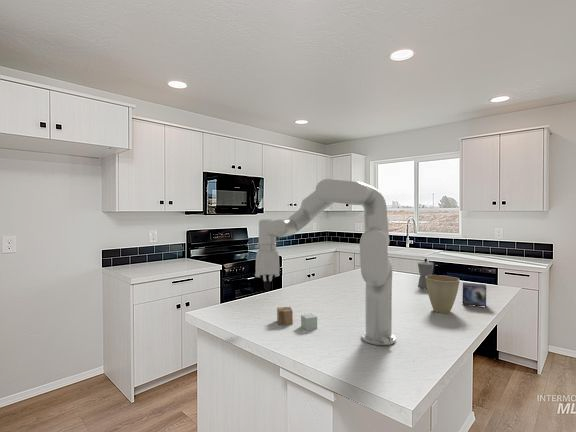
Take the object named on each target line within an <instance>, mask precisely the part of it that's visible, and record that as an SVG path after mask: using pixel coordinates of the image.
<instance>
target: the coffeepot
mask: <svg viewBox="0 0 576 432" xmlns="http://www.w3.org/2000/svg"><path fill="white" fill-rule="evenodd" d="M436 266H437V264H436V263H435V261H428V258H424V261H420V262H417V267H418V272H419V278H418V283H417V284H418V285H417V287H418V288H419V287H420V288H419V289H424V288H427V285H426V276H429V275H435V270H436Z"/></svg>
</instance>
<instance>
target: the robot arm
mask: <svg viewBox="0 0 576 432" xmlns="http://www.w3.org/2000/svg"><path fill="white" fill-rule="evenodd" d="M386 202H387V201H386V199H385V197H384V196H383V194H382V193H381V192H380V191H379V190H378V189H377V188H376V187H374V186H371V185H369V184H367V183H365V182H361V181H354V180H353V181H352V180H342V179H341V180H339V179H331V178H324V179H322V180H320V181H319V182H318V183H317V184H316V186H315V190H314V191H313V192H311V193H310V194H309V195H308V196H307V197H304V198H303V199H302V201H301V204H300V207H299V208H298V210H296V211H295V212H294V213H293V214H292V215H290V216H289V217H288V218H281V219H272V218H271V219H270V218H267V219H266V218H264V219H260V220H259V221H258V243H257V244H256V245H254V249H258V250H257V251H256V258H255V272H254V273H255V274H254V277H255V278H260V279H262V281H263V288H264V289H265V291H266V292H267V291H268V292H269V291H270V289H272V281H273V280H274V279H275V278H276V277H279V276H281V275H280V269H281V267H280V255H279V254H280V253H279V251H278V250H277V238H284V237H285V238H286V237H289V236H293V235H295V234H297V233H298V232H299V231H301V230H302V229H303V228H304V227H306V226H307V225H309V224H310V222H312V221H313V220H314V219H315V218H317V216H319V215H320V214H321V213H322V212H324V211H325V210H326V209H327V208H329V207H331V206H332V205H333V204H334V203H336V204H346V205H352V206H353V205H354V206H362V207H363V209H364V212H363V218H364V219H363V220H364V232H363V233H362V235H361V237H360V240H359V258H360V259H359V261H360V273H361V278H362V279H363V281H364V282H365V331H364V332H362V333H361V340H363V341H364V342H365V343H367V344H371V345H375V346H389V345H390V346H391V345H393V344H395V343H396V341H397V338H396V337H397V336H395V334H393V332H392V328H393V327H392V326H393V325H392V318H393V317H392V314H393V313H392V311H393V310H392V306H393V305H392V300H393V298H392V297H393V296H392V295H393V294H392V292H393V291H392V290H393V289H392V288H393V266H392V263H391V261H390V260H389V256H388V255H389V252H388V248H389V245H390V242H391V241H390V234H389V219H388V208H387V203H386ZM267 275H268V279H267Z"/></svg>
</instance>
